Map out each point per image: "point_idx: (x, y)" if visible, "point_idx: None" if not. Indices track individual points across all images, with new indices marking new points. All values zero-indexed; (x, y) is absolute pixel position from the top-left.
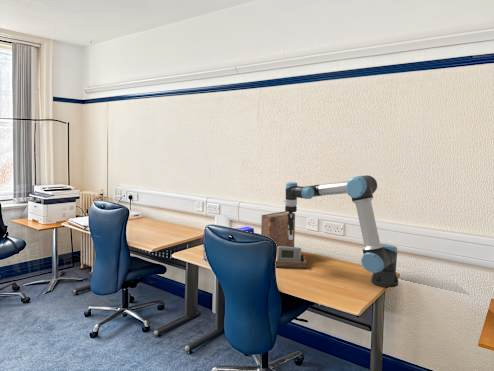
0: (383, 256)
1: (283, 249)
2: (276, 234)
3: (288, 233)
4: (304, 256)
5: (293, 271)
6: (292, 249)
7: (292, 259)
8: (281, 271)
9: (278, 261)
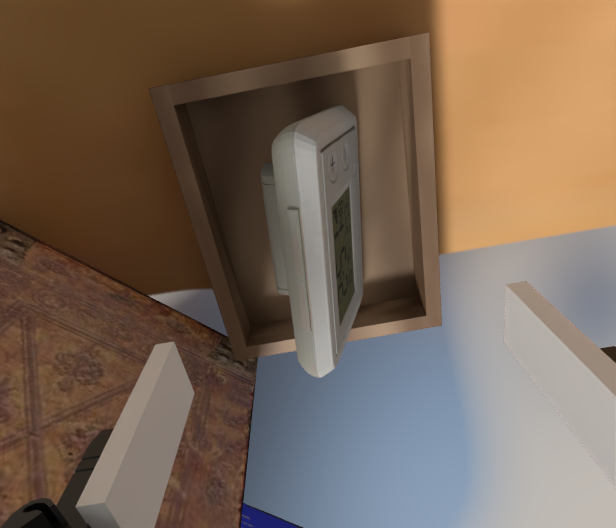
0: None
1: (337, 313)
2: None
3: (188, 401)
4: (214, 79)
5: (498, 144)
6: (330, 227)
7: (353, 189)
8: (507, 233)
9: (437, 290)
